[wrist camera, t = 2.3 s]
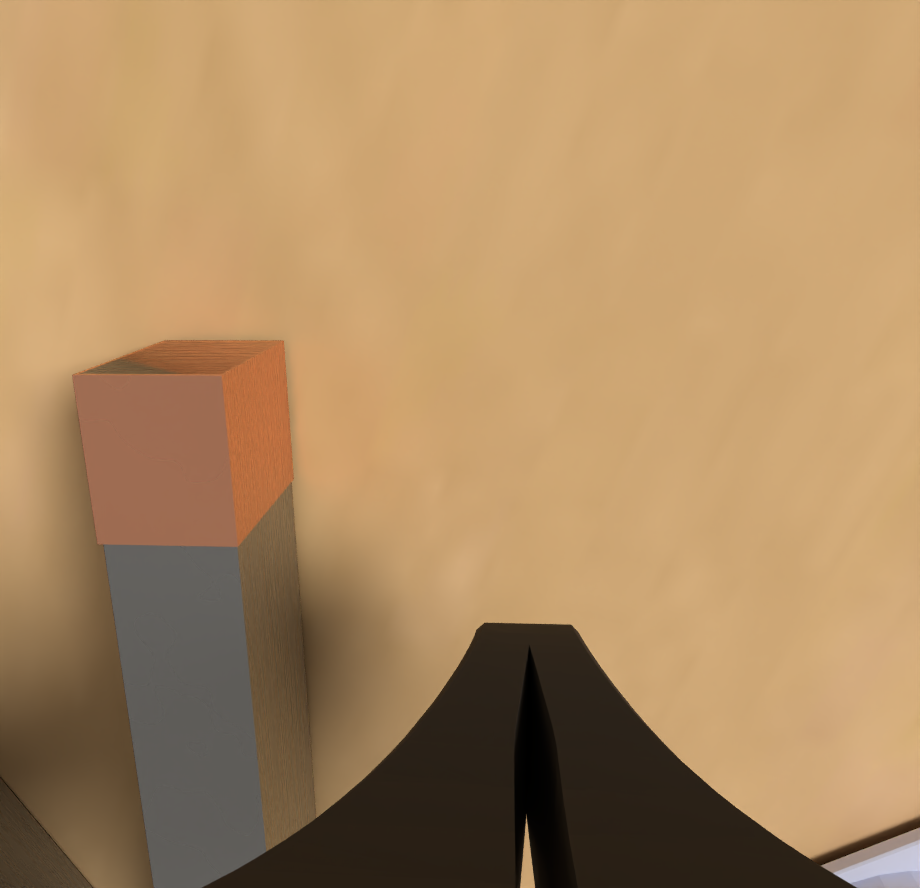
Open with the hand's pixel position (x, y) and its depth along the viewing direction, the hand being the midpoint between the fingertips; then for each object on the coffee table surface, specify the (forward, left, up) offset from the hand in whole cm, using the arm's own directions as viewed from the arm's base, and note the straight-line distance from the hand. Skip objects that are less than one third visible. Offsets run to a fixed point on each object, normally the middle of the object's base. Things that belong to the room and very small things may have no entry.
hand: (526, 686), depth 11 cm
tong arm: (-2, +9, -6) cm, 12 cm away
